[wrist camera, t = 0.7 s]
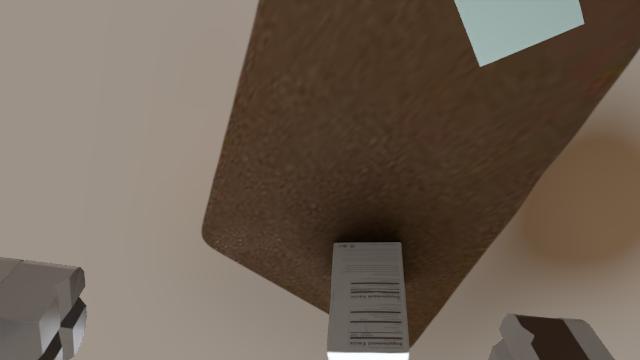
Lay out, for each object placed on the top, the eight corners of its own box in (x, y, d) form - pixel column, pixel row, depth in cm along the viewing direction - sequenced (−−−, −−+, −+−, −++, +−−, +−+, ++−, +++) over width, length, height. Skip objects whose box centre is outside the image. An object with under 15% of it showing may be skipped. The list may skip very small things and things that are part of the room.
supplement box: (401, 286, 76) (409, 398, 63) (337, 287, 77) (331, 397, 64) (402, 239, 70) (410, 353, 57) (332, 240, 71) (325, 352, 58)
